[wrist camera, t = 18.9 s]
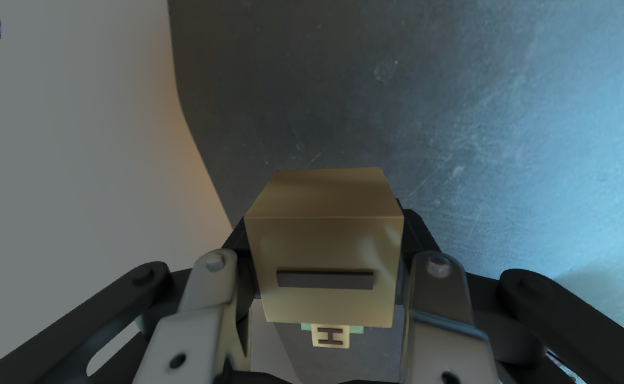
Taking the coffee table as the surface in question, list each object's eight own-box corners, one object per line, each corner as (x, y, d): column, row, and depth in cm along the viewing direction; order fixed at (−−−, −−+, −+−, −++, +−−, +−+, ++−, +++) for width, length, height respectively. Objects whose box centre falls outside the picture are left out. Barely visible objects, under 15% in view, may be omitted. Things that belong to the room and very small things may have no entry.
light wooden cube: (315, 317, 33) (312, 347, 29) (313, 294, 31) (310, 323, 28) (348, 319, 33) (349, 349, 29) (348, 295, 31) (349, 325, 27)
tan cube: (287, 251, 12) (264, 325, 9) (275, 170, 10) (240, 220, 7) (376, 252, 12) (393, 332, 8) (380, 166, 10) (406, 219, 6)
